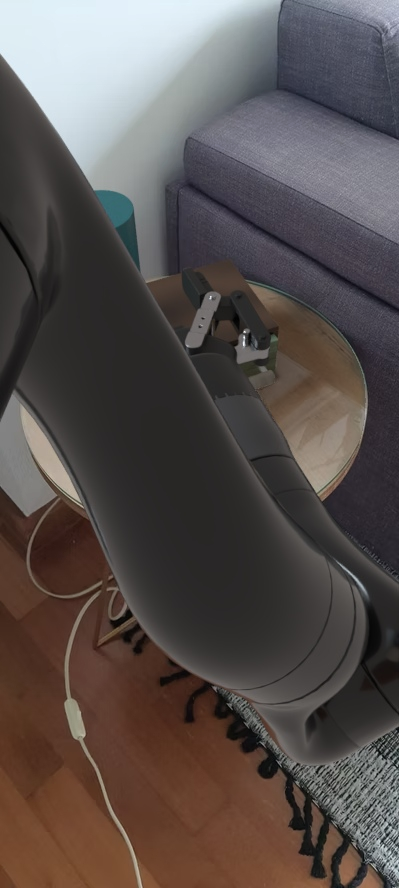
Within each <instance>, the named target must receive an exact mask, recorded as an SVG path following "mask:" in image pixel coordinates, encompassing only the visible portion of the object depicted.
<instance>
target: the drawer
mask: <svg viewBox="0 0 399 888" xmlns="http://www.w3.org/2000/svg"><path fill="white" fill-rule="evenodd" d="M237 345H238V344H236V345H233V346H234V347H236V346H237ZM278 349H279V337H278V338H277V337H276V336H275V334H271V343H270V354H269V363H268V364H267V365H265V366H257V365H255V364H254V363H253V361H249V362H245V363H242V364H239V365H240V366H241V368H242V369H243V371H244V373H245V374H246V376H247V377H248V379H249V380H250V382H251V384H252V385H253V387H254V388H255V390H256V391H257V390H259V389H262V388H265V387H268V386H271V385H274V384H276V369H277V359H278V351H279V350H278Z"/></svg>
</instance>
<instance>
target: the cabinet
mask: <svg viewBox="0 0 399 888" xmlns="http://www.w3.org/2000/svg"><path fill="white" fill-rule="evenodd" d="M192 269H193V271H194V272H197V271H199V272H200V273H202V274H203V275H204V277H205V278H206V280H207V281H208V283H209V284H210V285H211V287H212V288H213V290H214V291H215V292H218V293H219V294H220V295H221V296H230V294H231V293H232V292H233V291H236V290H240V291H243V292H245V294H246V295H247V297H248V299H249V300H250V302H251V304H252V305H253V307H254V309H255V310H256V312H257V314H258V315H259V317H260V319H261V320H262V322H263V323H264V325H265V327H266V328H267V330H268V332H269V333H270V335H271V334H275V336H276V337H277V338H278V339H279V330H280V329H279V328H280V326H279V324H278V323H277V322H276V320H275V319H274V317H273V316H272V314H271V313H270V312H269V310H268V309H267V308H266V306H265V305H264V304H263V302H262V301H261V299H260V298H259V297H258V295H257V294H256V293H255V291H254V290H253V288H252V287H251V285H249V283H248V282H247V281H246V279H245V278H244V276H243V275H242V274H241V272H240V271H239V270H238V268H237V267H236V265H235V264H234V263H233V261H232V260H231V258H228V259H224V260H220V261H217V262H214V263H209V264H206V265H203V266H200V267H196V268H192ZM146 284H147V285H148V287H149V289H150V291H151V292H152V294H153V296H154V298H155V300H156V301H157V303H158V305H159V306H160V308H161V310H162V311H163V313H164V315H165V316H166V318H167V320H168V321H169V323H170V324H171V326H172V328H173V327H177V326H180V325H183V327H184V328H185V327H188V328H191V326H192V324H193V321H194V318H195V316H196V313H197V311H196V310H195V308H194V306H193V305H192V303H191V302H190V300H189V298H188V297H187V295H186V294H185V292H184V290H183V287H182V272H180V273H176V274H173V275H169V276H166V277H162V278H159V279H155V280H152V281H148V282H146ZM238 337H239V336H238V335H237V333H236V331H235V329H234V327H233V326H232V324H231V322H230V320H226V321H220V324H219V327H218V330H217V333H216V338H219V339H221V340H224V341H226V342H229V343H230V344H232V345H236V344H238Z"/></svg>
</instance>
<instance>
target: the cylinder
mask: <svg viewBox="0 0 399 888" xmlns="http://www.w3.org/2000/svg"><path fill="white" fill-rule="evenodd" d="M93 190H94V191H95V193H96V195H97V197H98V198H99V200H100V202H101V203H102V205H103V207H104V209H105V210H106V212H107V214H108V216H109V218H110V219H111V221H112V223H113V225H114V227H115V228H116V230H117V232H118V234H119V235H120V237H121V239H122V241H123V243H124V244H125V246H126V248H127V250H128V251H129V253H130V255H131V257H132V259H133V260H134V262H135V264H136V266H137V267H138V269H139V271H140V273H141V262H140V255H139V253H140V252H139V245H138V236H137V225H136V217H135V208H134V203H133V202H132V200H131V199H130V198H129V197H128V196H126V195H125V194H123V193H121V192H118V191H114V190H108V189H93ZM141 274H142V273H141Z"/></svg>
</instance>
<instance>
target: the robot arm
mask: <svg viewBox="0 0 399 888" xmlns="http://www.w3.org/2000/svg"><path fill="white" fill-rule="evenodd" d="M94 190H95V189H94V188H93V187H92V185H91V183H90V181H89V180H88V178H87V176H86V175H85V173H84V171H83V170H82V168H81V166H80V164H79V163H78V161H77V160H76V158H75V157H74V155H73V154H72V152H71V151H70V149H69V147H68V146H67V144H66V143H65V141H64V140H63V138H62V136H61V135H60V133H59V132H58V130H57V129H56V127H55V125H54V124H53V123H52V121H51V120H50V119H49V117H48V116H47V114H46V112H45V111H44V110H43V108H42V107H41V106H40V104H39V103H38V101H37V100H36V98H35V97H34V96H33V94H32V92H31V91H30V90H29V88H28V87H27V85H26V84H25V83H24V81H23V80H22V79H21V78H20V76H19V75H18V74H17V73H16V71H15V70H14V69H13V68H12V66H11V65H10V63H8V61H7V60H6V59H5V58H4V56H3V55H2V54H1V53H0V423H1V421H2V419H3V417H4V414H5V412H6V409H7V407H8V405H9V402H10V400H11V397H12V395H13V396H14V397H15V398H16V400H17V401H18V402H19V403H20V405H22V407H23V408H24V409H25V410H26V412H27V413H28V414H29V416H30V417H31V418H32V420H33V421H34V422H35V423H36V425H37V427H38V428H39V429H40V431H41V432H42V433H43V435H44V436H45V437H46V439H47V441H48V443H49V445H50V447H51V448H52V450H53V451H54V453H55V455H56V457H57V458H58V460H59V462H60V463H61V465H62V467H63V468H64V470H65V472H66V475H67V476H68V477H69V479H70V482H71V484H72V486H73V488H74V491H75V492H76V494H77V496H78V499H79V500H80V502H81V505H82V507H83V509H84V511H85V514H86V516H87V518H88V521H89V523H90V526H91V527H92V531H93V532H94V535H95V537H96V540H97V542H98V545H99V547H100V550H101V551H102V553H103V556H104V558H105V561H106V563H107V566H108V568H109V570H110V573H111V575H112V577H113V580H114V581H115V584H116V587H117V589H118V591H119V592H120V595H121V596H122V599H123V600H124V602H125V604H126V606H127V607H128V609H129V611H130V612H131V614H132V615H133V617H134V619H135V621H136V622H137V623H138V625H139V627H140V628H141V630H142V631H143V632H144V633H145V635H146V636H147V638H148V639H149V640H150V641H151V642H152V643H153V644H154V645H155V646H156V647H157V648H158V649H159V651H161V653H163V654H164V655H165V656H166V657H167V658H168V659H169V660H170V661H172V663H174V664H176V665H177V666H179V667H180V668H182V669H184V670H185V671H187V672H188V673H190V674H192V676H195V677H196V678H198V679H200V680H202V681H205V682H207V683H209V684H212V685H213V686H216V687H218V688H220V689H221V690H222V689H223V690H225V691H226V692H228V693H230V694H233V695H235V696H237V697H240V698H242V699H243V700H245V701H246V702H247V703H248V705H249V706H250V707H251V708H252V710H254V711H255V713H256V715H258V717H259V720H260V721H261V723H262V725H263V726H264V728H265V730H266V732H267V734H268V735H269V737H270V738H271V740H272V741H273V742H274V743H275V745H276V746H277V747H278V748H279V750H280V751H281V752H282V753H283V754H284V755H285V756H286V757H288V759H290V760H292V761H293V762H295V763H297V764H299V765H302V766H309V767H319V766H327V765H331V764H333V763H336V762H339V761H342V760H344V759H345V758H347V757H349V756H351V755H353V754H354V753H356V752H358V751H360V750H361V749H363V748H364V747H366V746H369V744H371V743H373V742H375V741H377V740H378V739H380V738H381V737H383V736H385V735H386V734H388V733H390V732H392V731H394V730H396V729H397V728H399V579H397V578H396V577H395V576H394V575H392V573H390V572H389V571H388V570H386V569H385V568H384V567H383V566H381V564H379V563H378V562H377V561H376V560H374V559H373V557H371V556H370V555H369V554H368V553H367V552H366V551H365V550H364V549H363V548H362V547H361V546H360V545H359V544H358V543H357V542H355V540H354V539H353V538H352V537H351V536H350V535H349V534H348V533H347V532H346V530H344V528H343V527H342V526H341V525H340V523H338V521H337V520H336V519H335V518H334V516H333V515H332V514H331V512H330V511H329V510H328V508H327V507H326V505H325V503H324V502H323V501H322V499H321V498H320V496H319V494H318V492H317V491H316V490H315V488H314V486H313V485H312V484H311V482H310V480H309V479H308V478H307V475H306V474H305V473H304V470H303V469H302V468H301V466H300V465H299V463H298V461H297V460H296V457H295V455H294V454H293V451H292V449H291V446H290V444H289V441H288V440H287V437H286V436H285V433H284V432H283V431H282V428H281V427H280V425H279V424H278V423H277V421H276V420H275V418H274V416H273V415H272V413H271V412H270V410H269V409H268V407H267V405H266V404H265V402H264V400H263V399H262V398H261V396H260V394H259V393H258V391H257V389H256V390H255V388H254V387H253V385H252V384H251V382H250V380H249V379H248V377H247V376H246V374H245V373H244V371H243V369H242V368H241V366H240V365H239V364H242V363H245V362H249V361H253V363H254V364H255V365H257V366H265V365H267V364H268V363H269V354H270V343H271V335H270V333H269V332H268V330H267V328H266V327H265V325H264V323H263V322H262V320H261V319H260V317H259V315H258V314H257V312H256V310H255V309H254V307H253V305H252V304H251V302H250V300H249V299H248V297H247V295H246V294H245V292H243V291H240V290H236V291H233V292H232V293H231V294H230V296H221V295H220V294H219V293H218V292H215V291H214V290H213V288H212V287H211V285H210V284H209V283H208V281H207V280H206V278H205V277H204V275H203V274H202V273H200V272H199V271H197V272H194V271H193V269H194V268H193V267H191V266H188V267H184V268H181V272H180V273H182V287H183V290H184V292H185V294H186V295H187V297H188V298H189V300H190V302H191V303H192V305H193V306H194V308H195V310H196V311H197V313H196V316H195V318H194V321H193V324H192V326H191V328H188V327H185V328H184V327H183V325H180V326H177V327H173V328H172V326H171V324H170V323H169V321H168V320H167V318H166V316H165V315H164V313H163V311H162V310H161V308H160V306H159V305H158V303H157V301H156V300H155V298H154V296H153V294H152V292H151V291H150V289H149V287H148V285H147V284H146V283H147V281H146V280H145V278H144V276H143V274H142V273H140V271H141V270H140V271H139V269H138V267H137V266H136V264H135V262H134V260H133V259H132V257H131V255H130V253H129V251H128V250H127V248H126V246H125V244H124V243H123V241H122V239H121V237H120V235H119V234H118V232H117V230H116V228H115V227H114V225H113V223H112V221H111V219H110V218H109V216H108V214H107V212H106V210H105V209H104V207H103V205H102V203H101V202H100V200H99V198H98V197H97V195H96V193H95V191H94ZM226 320H230V322H231V324H232V326H233V327H234V329H235V331H236V333H237V335H238V336H239V337H238V345H237V346H236V347H234V346H233V345H232V344H230V343H229V342H226V341H224V340H221V339H219V338H216V333H217V330H218V327H219V324H220V321H226Z"/></svg>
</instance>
